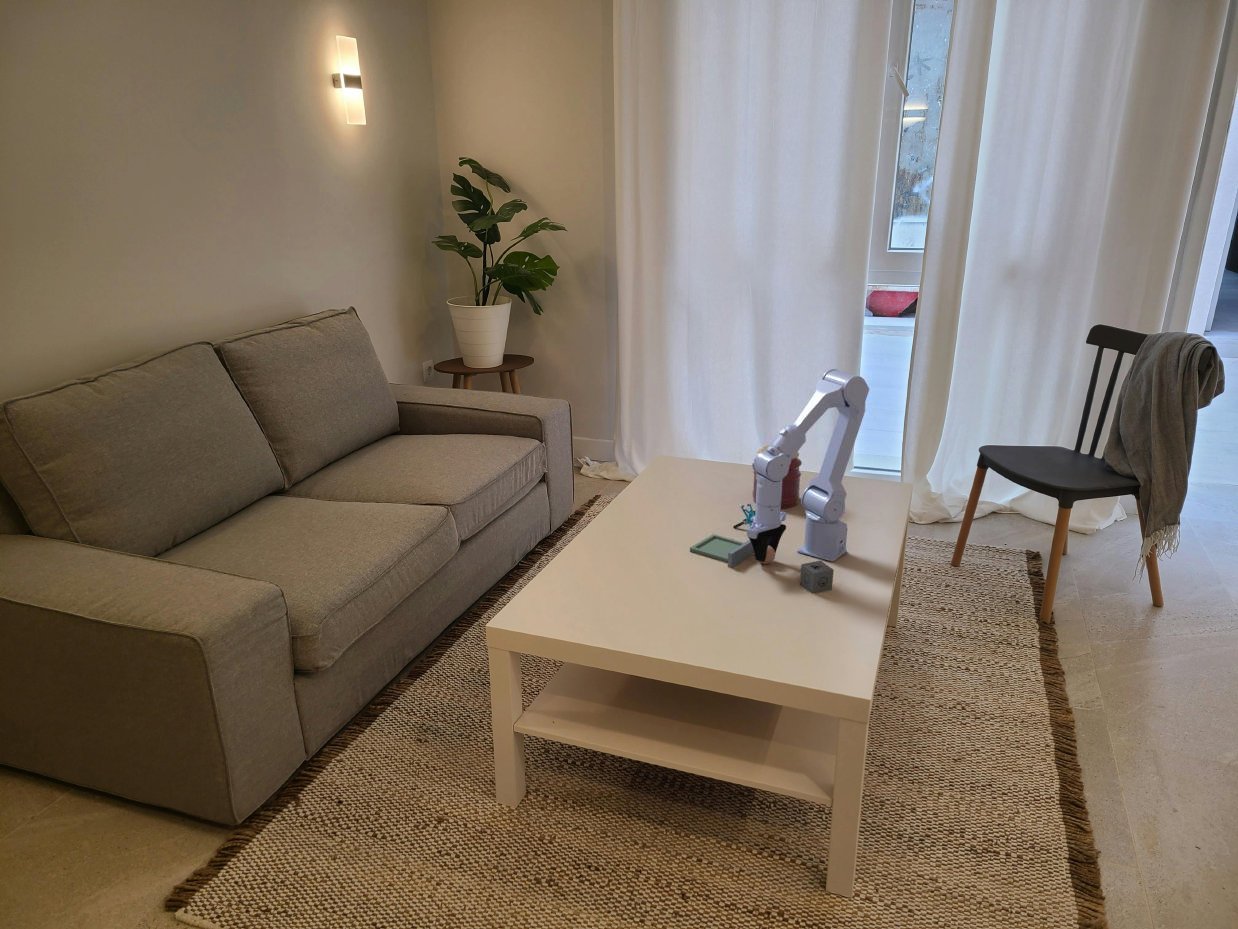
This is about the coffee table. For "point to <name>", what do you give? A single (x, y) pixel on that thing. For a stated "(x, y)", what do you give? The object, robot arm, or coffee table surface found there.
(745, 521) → the stick construction toy
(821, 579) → the dice cube
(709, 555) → the green tray
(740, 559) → the low wall
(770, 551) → the rubber ball
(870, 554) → the coffee table surface
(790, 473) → the canister
